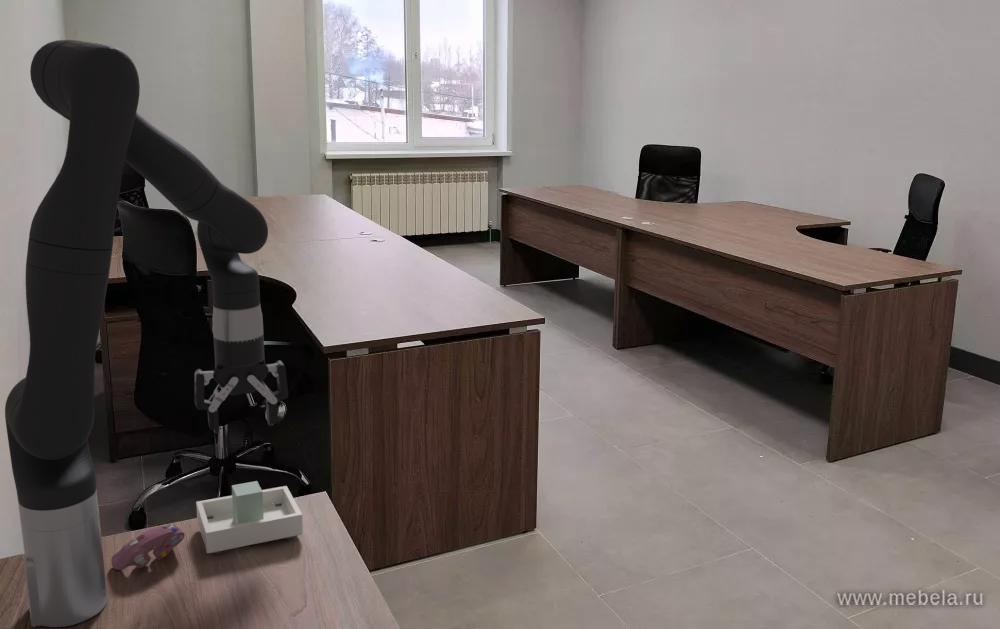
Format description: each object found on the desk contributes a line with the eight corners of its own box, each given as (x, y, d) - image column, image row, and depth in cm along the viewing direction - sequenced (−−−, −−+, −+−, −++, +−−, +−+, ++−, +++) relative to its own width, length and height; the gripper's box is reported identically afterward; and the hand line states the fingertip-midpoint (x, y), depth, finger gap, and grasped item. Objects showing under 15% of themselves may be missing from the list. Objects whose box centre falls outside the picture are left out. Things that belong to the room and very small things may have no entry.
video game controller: (122, 586, 122) (131, 556, 118) (106, 564, 123) (114, 533, 120) (182, 558, 129) (192, 529, 126) (166, 537, 131) (175, 508, 128)
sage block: (238, 530, 131) (236, 496, 129) (233, 519, 134) (231, 485, 132) (263, 525, 133) (262, 491, 131) (258, 514, 136) (257, 480, 134)
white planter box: (207, 560, 126) (206, 533, 125) (197, 527, 135) (196, 501, 134) (302, 540, 133) (302, 514, 131) (287, 510, 142) (286, 485, 141)
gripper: (193, 343, 124) (200, 443, 128) (289, 334, 130) (292, 429, 134) (188, 329, 130) (195, 425, 135) (279, 321, 136) (283, 413, 141)
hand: (243, 427), depth 134 cm, fingers open, 8 cm apart
